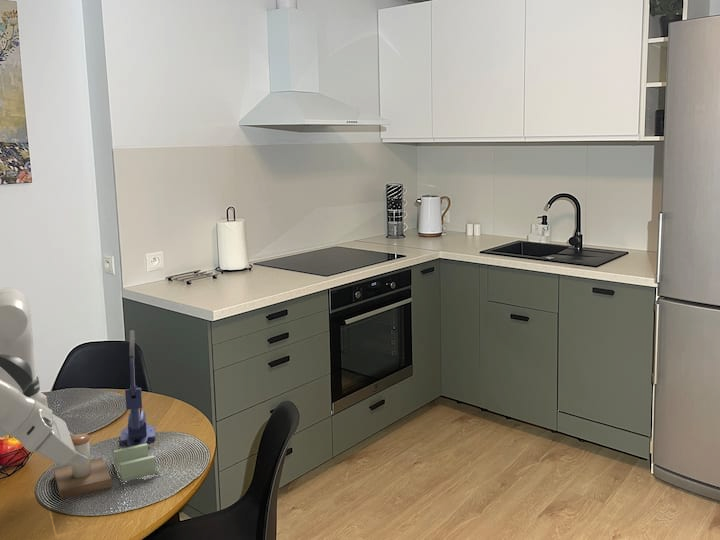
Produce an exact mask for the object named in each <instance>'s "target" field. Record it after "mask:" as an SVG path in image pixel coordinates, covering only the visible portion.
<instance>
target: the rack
mask: <svg viewBox="0 0 720 540" xmlns="http://www.w3.org/2000/svg"><path fill="white" fill-rule="evenodd" d="M148 455H149V444H148V445H147V443H145V444H141V445H136V446H132V447H128V446H126V447H123V448H119V449H118V448H117V449H114V450H113V461H114V465H115V467H116V469H117V471H118V474H119V476H120V478H121V480H122V482H125V481H129V480H133V479H137V478H141V477H144V476H147V475H153V474H157V471H158V469H157V468H156V467H157V466H156V465H157V464H156V456H155V455H149V456H148ZM156 469H157V470H156Z"/></svg>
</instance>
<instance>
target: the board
mask: <svg viewBox="0 0 720 540" xmlns="http://www.w3.org/2000/svg"><path fill="white" fill-rule="evenodd" d="M91 469H92V473H91V474H90V475H88V476H86V477H82V478H75V477H73V475H72V465H71V463H69V464H68V465H67V466H64V465H61V466H59V467H53V475H54V480H55V483H56V486H57V490H58V495H59V497H60V500H61V501H62V500H66V499H69V498H70V499H71V498H74V497H77V496H82V495H86V494H90V493H94V492H98V491H102V490H106V489H110V488H113V481H112V480H113V479H112V475H111V474H110V472H109V470H108V467H107V465H106V463H105V461H104V459H103V457H98V458H91Z"/></svg>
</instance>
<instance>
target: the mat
mask: <svg viewBox="0 0 720 540" xmlns="http://www.w3.org/2000/svg"><path fill="white" fill-rule="evenodd" d="M156 470H157V474H155V475H158V476H154V477H152V478H151V479H149V478H148V479H146V480H144V479H142V478H141V479H139V478H138V479H133V480H129V481H127V482H121V481H122V480H121V479H120V478H119V479H118V481H119V483H120V486H121V487H122V488H123V487H126V486H131V485H135V484H137V483H138V484H139V483H142V482H145V481H146V482H147V481H150V480H154V479H159V478H161V477H162V476H161V474H160V473H159V471H158V469H157V468H156ZM120 480H121V481H120ZM123 483H125V484H123Z"/></svg>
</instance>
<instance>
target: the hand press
mask: <svg viewBox="0 0 720 540" xmlns="http://www.w3.org/2000/svg"><path fill="white" fill-rule="evenodd" d="M135 335H136V334H135V330H129V373H130V375H129V376H130V377H129V378H130V379H129V380H130V386H129V388H125V389H124V390H125V391H124V395H125V406H126V410H129V411H130V412H129V413H128V416H127V426H126V427H125V428H123V430H121V432H120V445H121V446H124V445H127V447H132V446H136V445H141V444H145V443H147V445H148V446H149V445H151V442H154V441H156V429H155V426H153V425H152V424H149V423H147V414H146V412H145V411H143V410H142V408H143V396H142V393H143V391H142V387H138V386H137V385H136V380H135V379H136V378H135V377H136V375H135V340H136V339H135ZM148 441H149V442H148ZM123 444H124V445H123Z"/></svg>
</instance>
